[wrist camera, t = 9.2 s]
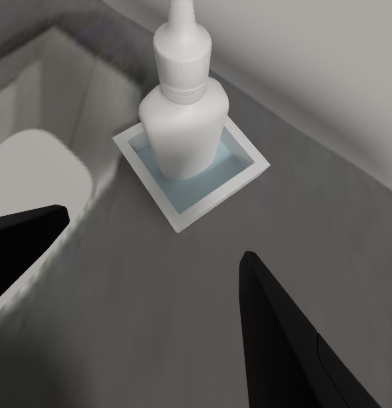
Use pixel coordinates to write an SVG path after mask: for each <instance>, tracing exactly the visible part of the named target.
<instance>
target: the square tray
mask: <svg viewBox="0 0 392 408" xmlns="http://www.w3.org/2000/svg"><path fill="white" fill-rule="evenodd" d="M112 139H113V140H114V142H115V143H116V145H117V146H118V147H119V149H120V150H121V152H122V153H123V155H124V156H125V158H126V159H127V161H128V162H129V164H130V165H131V167H132V168H133V169H134V171H135V172H136V174H137V175H138V177H139V178H140V180H141V181H142V183H143V184H144V186H145V187H146V189H147V190H148V191H149V193H150V194H151V196H152V197H153V199H154V200H155V202H156V203H157V205H158V206H159V208H160V209H161V211H162V212H163V213H164V215H165V216H166V218H167V219H168V221H169V222H170V224H171V225H172V227H173V228H174V230H175V231H176V232H177V233H179V232H180V231H182V230H183V229H185V228H186V227H187V226H189V225H190V224H192V223H193V222H194V221H196V220H197V219H199V218H200V217H201V216H203V215H204V214H206V213H207V212H208V211H210V210H211V209H213V208H214V207H216V206H217V205H218V204H220V203H221V202H223V201H224V200H225V199H227V198H228V197H230V196H231V195H232V194H234V193H235V192H237V191H238V190H239V189H241V188H242V187H244V186H245V185H246V184H248V183H249V182H251V181H252V180H253V179H255V178H256V177H258V176H259V175H260V174H261V173H262V172H263V171H264V170H265V169H266V168H268V167H269V166H270V164H269V163H268V162H267V161H266V159H265V158H264V157H263V156H262V155H261V154H260V153H259V151H258V150H257V149H256V148H255V147H254V146H253V144H252V143H251V142H250V141H249V140H248V139H247V138H246V136H245V135H244V134H243V133H242V132H241V131H240V130H239V128H238V127H237V126H236V125H235V124H234V123H233V121H232V120H231V119H230V118H229V117H228V116H227V117H226V121H225V124H224V127H223V131H222V134H221V138H220V141H219V144H218V148H217V151H216V154H215V157H214V160H213V162H212V164H211V165H210V166H209V167H208V168H207V169H205V170H204V171H203V172H201V173H200V174H198V175H196V176H193V177H191V178H188V179H183V180H167V179H165V178H164V177H163V175H162V173H161V171H160V169H159V166H158V164H157V161H156V159H155V156H154V154H153V151H152V149H151V146H150V144H149V141H148V139H147V136H146V134H145V131H144V128H143V126H142V123H141V122H140V123H138V124H136V125H134V126H133V127H131V128H129V129H127V130H125V131H123V132H122V133H120V134H118V135H116V136H114V137H112Z"/></svg>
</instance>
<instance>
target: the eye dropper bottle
mask: <svg viewBox="0 0 392 408" xmlns="http://www.w3.org/2000/svg"><path fill="white" fill-rule="evenodd" d="M153 47H154V53H155V58H156V64H157V69H158V75H159V80H160V84H159V85H158V86H156V87H155V88H154V89H153V90H152V91H151V92H150V93H148V94H147V96H146V97H145V98H144V99H143V100H142V102H141V103H140V105H139V117H140V120H141V123H142V126H143V128H144V131H145V134H146V136H147V139H148V141H149V144H150V146H151V149H152V151H153V154H154V156H155V159H156V161H157V164H158V166H159V169H160V171H161V173H162V175H163V177H164V178H165V179H167V180H183V179H188V178H191V177H193V176H196V175H198V174H200V173H201V172H203V171H204V170H205V169H207V168H208V167H209V166H210V165H211V164H212V162H213V160H214V157H215V154H216V151H217V148H218V144H219V141H220V138H221V134H222V131H223V127H224V124H225V121H226V117H227V113H228V109H229V101H228V97H227V95H226V93H225V91H224V89H223V88H222V86H221V85H220V83H219V82H218V81H217V80H215V79H213V78H211V77H208V73H209V63H210V55H211V47H212V42H211V38H210V35H209V34H208V32H207V31H206V30H205V29H204V28H203V27H202V26H201V25H199V24H198V23H196V22H195V15H194V6H193V0H169V17H168V22H166V23H164V24H163V25H161V26H160V27H159V28H158V29H157V31H156V32H155V35H154V37H153Z"/></svg>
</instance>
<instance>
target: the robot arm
mask: <svg viewBox="0 0 392 408" xmlns="http://www.w3.org/2000/svg"><path fill="white" fill-rule="evenodd" d="M69 222H70V219H69V215H68V211H67V208H66V207H65V206H61V205H51V206H47V207H42V208H38V209H33V210H28V211H24V212H20V213H15V214H10V215H6V216H1V217H0V296H1V295H2V294H3V293H4V292H5V291H6V290H7V289H8V288H9V287H10V286H11V285H12V284H13V283H14V282H15V281H16V280H17V279H18V278H19V277H20V276H21V275H22V274H23V273H24V272H25V271H26V270H27V269H28V268H29V267H30V266H31V265H32V264H33V263H34V262H35V261H36V260H37V259H38V258H39V257H40V256H41V255H42V254H43V253H44V252H45V251H46V250H47V249H48V248H49V247H50V245H51V244H52V243H53V242H54V241H55V240H56V239H57V237H58V236H59V235H60V234H61V233H62V231H63V230H64V229H65V228H66V227H67V225H68V224H69ZM239 303H240V314H241V324H242V335H243V345H244V356H245V366H246V377H247V387H248V397H249V408H381V406H380V405H379V404H378V403H377V402H376V401H375V400H374V398H373V397H372V396H371V395H370V394H369V393H368V392H367V390H366V389H365V388H364V387H363V386H362V385H361V383H360V382H359V381H358V380H357V379H356V378H355V376H354V375H353V374H352V373H351V372H350V371H349V369H348V368H347V367H346V366H345V365H344V364H343V362H342V361H341V360H340V359H339V357H338V356H337V355H336V354H335V352H334V351H333V350H332V349H331V348H330V346H329V345H328V344H327V343H326V341H325V340H324V339H323V338H322V336H321V335H320V334H319V333H317V330H316V329H315V328H314V326H313V325H312V324H311V322H310V321H309V320H308V319H307V317H306V316H305V315H304V314H303V312H302V311H301V310H300V309H299V307H298V306H297V305H296V304H295V302H294V301H293V300H292V299H291V297H290V296H289V295H288V293H287V292H286V291H285V290H284V288H283V287H282V286H281V285H280V283H279V282H278V281H277V280H276V278H275V277H274V276H273V275H272V273H271V272H270V271H269V269H268V268H267V267H266V266H265V264H264V263H263V262H262V261H261V259H260V258H259V257H258V256H257V254H256V253H254V252H251V251H246V252H245V253H244V255H243V257H242V259H241V261H240V265H239Z"/></svg>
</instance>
